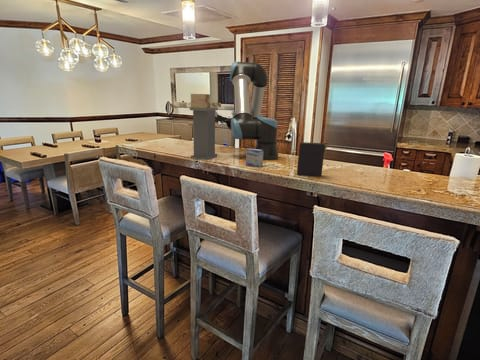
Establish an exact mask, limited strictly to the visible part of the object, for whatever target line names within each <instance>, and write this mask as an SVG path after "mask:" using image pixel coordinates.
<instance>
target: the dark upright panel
mask: <svg viewBox="0 0 480 360" xmlns="http://www.w3.org/2000/svg"><path fill="white" fill-rule="evenodd" d="M325 150H326V144H325V143H322V142H303V141H301V142H299V145H298V157H297V167H296V168H297V170H296V174H297V175H298V176H303V177H307V176H308V177H322V175H323V166H324V157H325Z"/></svg>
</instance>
